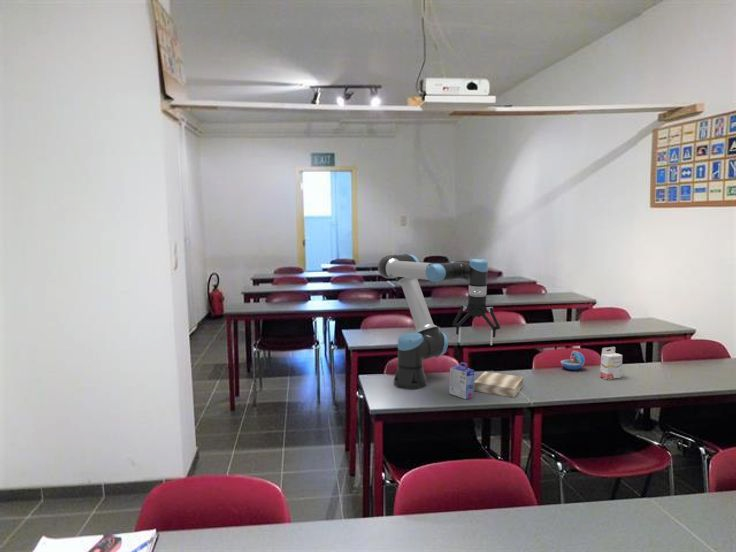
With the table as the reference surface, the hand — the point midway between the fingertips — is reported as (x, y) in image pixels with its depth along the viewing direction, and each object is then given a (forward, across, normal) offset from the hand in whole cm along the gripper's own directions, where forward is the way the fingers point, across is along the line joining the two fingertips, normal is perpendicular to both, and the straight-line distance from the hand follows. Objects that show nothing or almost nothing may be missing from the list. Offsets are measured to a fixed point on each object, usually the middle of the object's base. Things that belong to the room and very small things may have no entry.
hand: (475, 343), depth 213 cm
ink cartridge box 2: (+22, +64, +38) cm, 77 cm away
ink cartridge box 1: (+23, -5, -3) cm, 24 cm away
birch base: (+23, +11, +10) cm, 27 cm away
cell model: (+23, +48, +48) cm, 72 cm away
